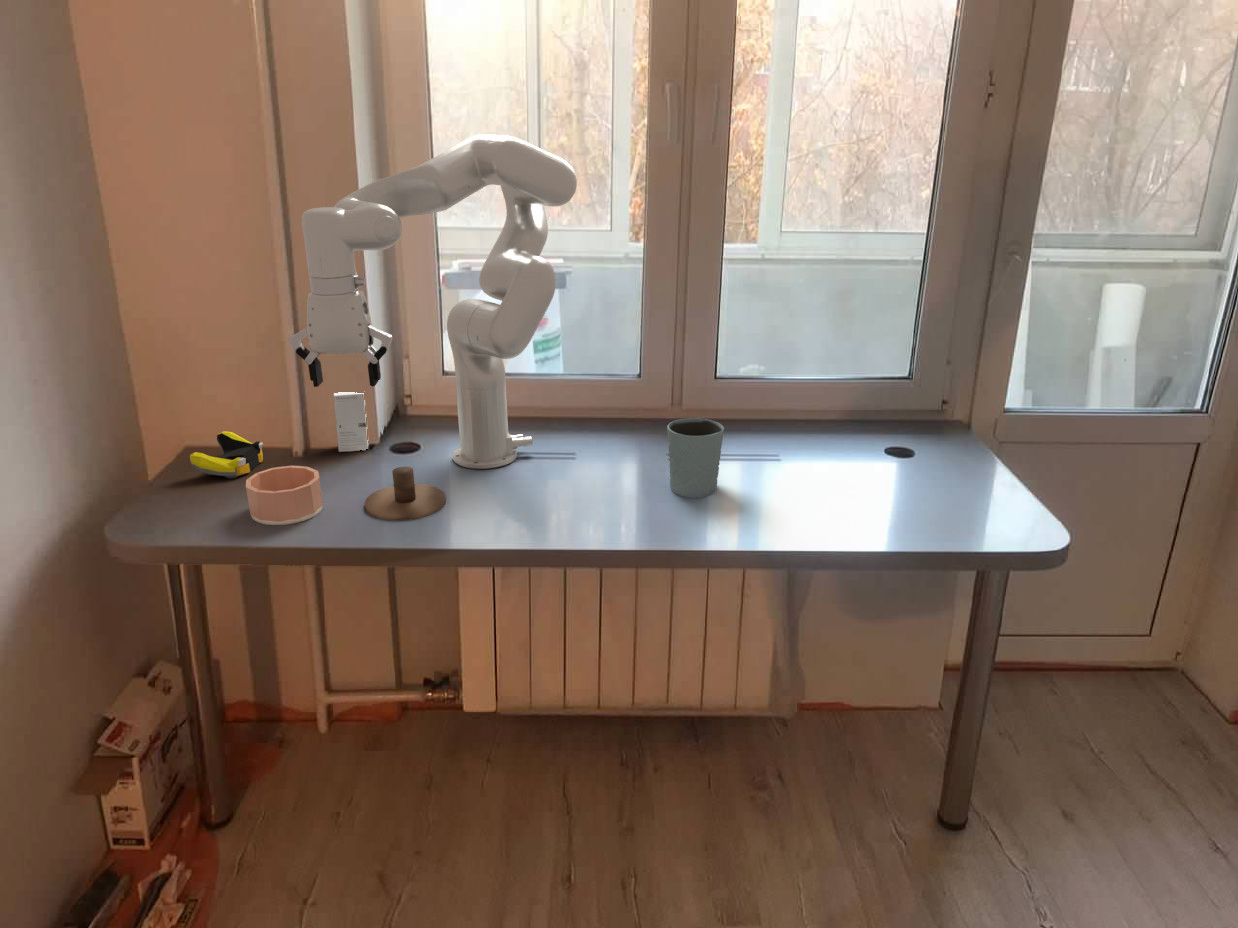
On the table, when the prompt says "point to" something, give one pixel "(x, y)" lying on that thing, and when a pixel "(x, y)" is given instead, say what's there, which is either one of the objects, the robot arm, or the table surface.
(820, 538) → the table surface
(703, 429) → the grey green cup
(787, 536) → the table surface
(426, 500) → the lid
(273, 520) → the bowl
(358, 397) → the skincare box
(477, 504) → the table surface
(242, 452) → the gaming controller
